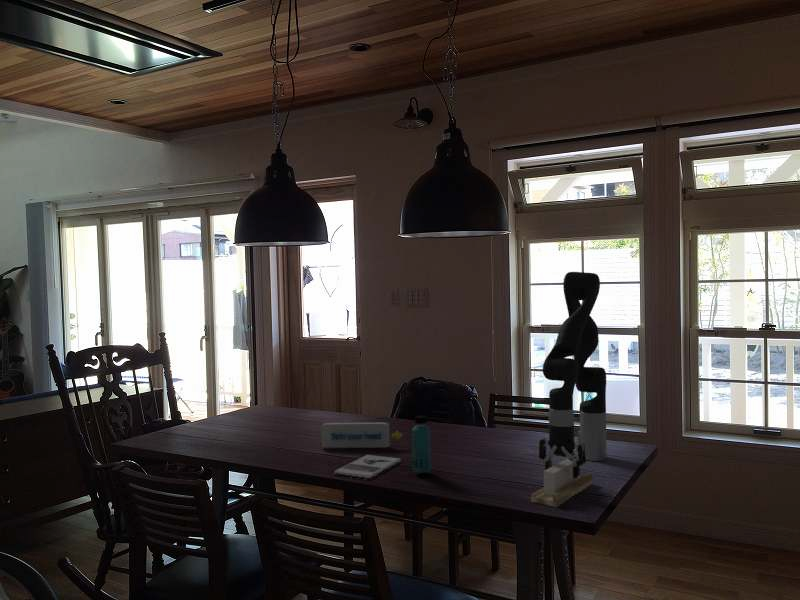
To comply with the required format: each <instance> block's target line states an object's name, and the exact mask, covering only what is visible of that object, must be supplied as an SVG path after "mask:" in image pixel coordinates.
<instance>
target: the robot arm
mask: <svg viewBox="0 0 800 600" xmlns="http://www.w3.org/2000/svg"><path fill="white" fill-rule="evenodd" d="M563 277H564V278H563V282H562V285H563V287H562V288H563V295H564V300H565V304H566V305H565V306H566V308H567V314H568V317H567V318H566V319H565V320H564V321H563V322H562V324H561V326H560V328H559V330H558V334H557V338H556V341H555V343H554V345H553V347H552V348H551V350H550V352H549V353H548V355H547V356H546V358H545V359H544V361H543V364H542V374H543V376H544V378H545V379H547V380H549V381H556V382H557V381H558V382H563V385H562V386H561V387H556V388H552V389H550V390H549V393H548V394H549V395H548V396H549V397H548V399H549V402H548V404H549V409H548V419H547V421H548V438H549V439H547V438H545V437H544V438H541V439H540V440H539V443H538V444H539V447H538V458H539V459H540V460H541V459H542V460H544V466H545V467H544V469H545V470H547V469H549V468H550V467H552V466H553V464H552V463H553V461H552V459H553V457H554V456H556V457H559V456H560V457H563V458H566V459H567V458H568V459H569V460H570V461H571V462H572V464H573V465H574V466H573V478H577V477H578V476H579V475H580V472H581V467H580V466H583V465H585V464H586V462H587V461H590V462H591V461H592V462H602V461H605V460H607V457H608V455H607V454H608V452H607V451H608V450H607V447H608V446H607V406H606V403H607V399H606V398H607V397H606V396H607V394H606V392H607V373H606V369H605V368H604V367H599V366H597V367H595V366H585V364H586V362H587V360H588V359H589V358H590V357H591V356H592V355H593V354H594V352H595V351H596V350H597V348H598V346H599V342H600V339H599V329H598V326H597V323H596V322H595V320H594V319H593V318H592V316H591V313H592V311H593V308H594V306H595V304H596V301H597V300H598V299H597V298H598V296H599V293H600V287H601V281H600V280H601V279H600V276H599V275H598V274H597V273H594V272H582V271H568V272H567V273H566V274H565V275H564V276H563ZM580 301H582V302H580ZM570 357H573V358H570ZM575 388H576V390H577V391H578V392H580V393H591V394H592V393H596V395H595V396H594V397H592V398H591V399H588V400H585V401H582V402H580V404H579V430H578V431H577V443H576V442H575V415H574V391H575ZM548 446H549V448H550V450H549V451H548V453H547V447H548ZM574 450H576V452H577V454H576V453H575V451H574ZM578 459H579V460H578ZM545 470H544V471H545ZM580 476H581V475H580Z"/></svg>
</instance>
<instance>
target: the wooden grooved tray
mask: <svg viewBox="0 0 800 600" xmlns="http://www.w3.org/2000/svg"><path fill="white" fill-rule="evenodd" d="M592 475H593V473H592V472H587V473H586V474H584V475H582V476H580V478H579V479H577V480H576V481H574V482H573V483H571V484H569V485H568V486H566V487H564V488H563V489H561V490H559V491H558V492H556V493H554V494H553V496H549V495H544V487H542V488H540V489H538V490H537V491H535V492H533V493H532V494H531V495H530V502H531V503H536V504H540V505H544V506H549V507H553V508H558V507H560V505H562V504H564V503H565V502H567V501H568V500H569V498H570V499H572V498H573V497H575V496H576V495H577V494H579V493H580V492H582V491H584V490H585V489H586V487H587V488H588V487H590V486H591V485H592V484H593V477H592ZM589 485H590V486H589ZM583 489H584V490H583ZM578 492H579V493H578ZM575 494H576V495H575ZM572 496H573V497H572ZM566 500H567V501H566Z"/></svg>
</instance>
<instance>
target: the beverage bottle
mask: <svg viewBox="0 0 800 600" xmlns="http://www.w3.org/2000/svg"><path fill="white" fill-rule="evenodd" d="M427 418H428V417H427V416H426V415H416V416H414V423H415V424H417V425H414V426H413V427H412V429H411V431H412V432H411V434H412V439H411V445H412V456H411V457H412V461H411V462H412V470H413V472H416V473H429V472H431V470H432V456H431V455H432V453H431V452H432V450H431V428H430V427H429V426H428V425H425V424H426V423H428V419H427Z"/></svg>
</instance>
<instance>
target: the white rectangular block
mask: <svg viewBox="0 0 800 600" xmlns="http://www.w3.org/2000/svg"><path fill="white" fill-rule="evenodd" d="M578 460H579V459H578ZM573 466H574V465H573V464H572V462H571V461H570V460H569V459H568V458H567V457H566V459H564V460H562V461H560V462H557V463H556V464H554V465H552V467H550V468H549V469H547V470H543V488H544V495H549V496H553V494H554V493H556V492H558V491H559V490H561V489H563V488H564V487H566V486H568V485H569V484H571V483H573V482H574V481H576V480H577V479H579V478H580V477H581V475H579V476H578V477H577V478H573Z"/></svg>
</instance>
